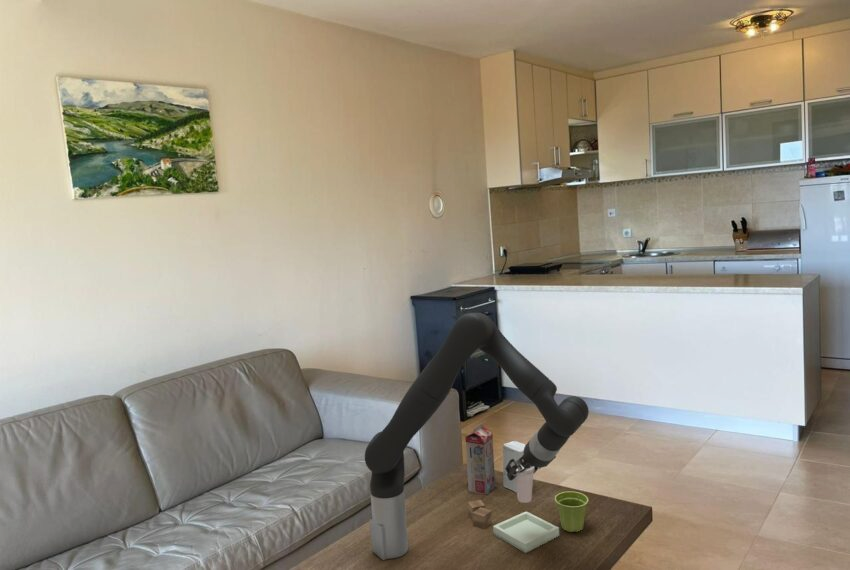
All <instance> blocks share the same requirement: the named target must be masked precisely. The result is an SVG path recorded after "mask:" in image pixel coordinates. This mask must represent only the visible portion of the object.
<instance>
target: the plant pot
mask: <svg viewBox="0 0 850 570" xmlns="http://www.w3.org/2000/svg"><path fill="white" fill-rule="evenodd" d="M554 501H555V503H556V506H557V508H558V514H559V519H560V527H561V528H562V529H563V530H564V531H565V530H566V531H565V532H569V533H573V532H577V533H579V532H580V530H581V531H582V530H583V529H584V526H585V525H584V523H585V515H586V508H587V506H588V503H589V497H588V496H587V495H585V494H584V493H582V492H578V491H573V490H572V491H570V490H569V491H563V492H559V493H558V494H556V495H554ZM578 531H579V532H578Z"/></svg>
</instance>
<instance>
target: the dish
mask: <svg viewBox="0 0 850 570" xmlns="http://www.w3.org/2000/svg"><path fill="white" fill-rule="evenodd" d="M492 528H493V529H492V531H493V535H494V536H495V537H497V538H499V539H500V540H502V541H505V542H506V543H508V544H509V545H511V546H513V547H515V548H516V549H519V550H520V551H522V553H525V554H527V553H529V552H531V551H532V550H534V549H537V548H539V547H540V545H541V546H542V544H543V545H544V544H546V543H549V542H551V541H553V540H554V538H555V539H557V538H559V537H560V527H559V526H556V525H554V524H552V523H550V522H549V521H546V520H544V519H543V518H540V517H539V516H536V515H534V514H532V513H531V512H528V511H525V512H521V513H520V514H519V513H518V514H517V515H515V516H512V517H511V518H508V519H506V520H504V521H501V522H499V523H497V524H495V525H493V527H492ZM558 536H559V537H558ZM556 537H557V538H556ZM548 541H549V542H548Z"/></svg>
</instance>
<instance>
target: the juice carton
mask: <svg viewBox="0 0 850 570" xmlns="http://www.w3.org/2000/svg"><path fill="white" fill-rule="evenodd" d="M493 439H494V438H493V432H492V431H491V430H489V429H488V428H486V426H484V421H482V422H480V423H478V425H476V426H475V427H474V428H473V431H471V432H470V433H469V434H468V435H466V436H465V451H466V452H465V453H466V454H465V455H466V467H467V468H466V469H467V484H468V485H467V486H468V492H469V493H474V494H475V493H476V494H481V495H488V494H489V493H490V492H492V490H493V489H494V488H495V487H496V479H495V477H496V476H495V475H496V474H495V459H494V457H495V456H494V454H495V453H494V440H493Z"/></svg>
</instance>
